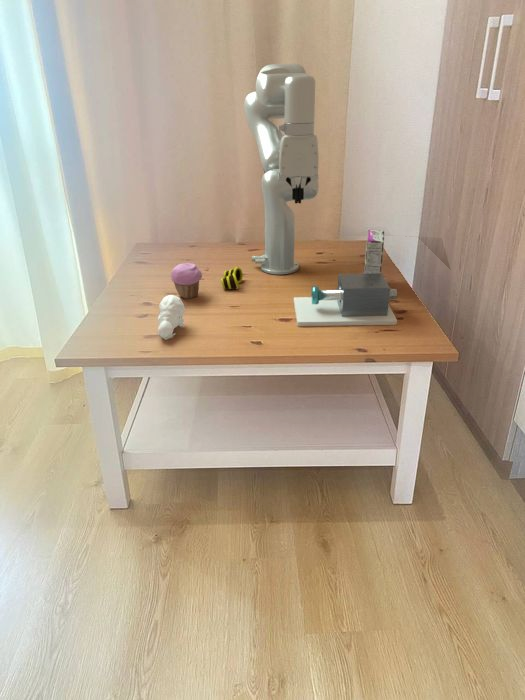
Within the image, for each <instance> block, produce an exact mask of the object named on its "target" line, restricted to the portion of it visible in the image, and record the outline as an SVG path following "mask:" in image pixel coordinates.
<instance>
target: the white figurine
mask: <svg viewBox="0 0 525 700" xmlns="http://www.w3.org/2000/svg"><path fill="white" fill-rule="evenodd" d="M158 307H159V310H160V312H159V315H158V317H157V324H158V328H157V334H158V335H159V337H161V338H162V339H164V340H165V341H167V340H169V339H170V338H171V339H172V338H174V337H175V335H176V333H173V332H174V329H175V328H177V327H178V326H179V327H180V328H184V327H185V324H184V318H183V316H184V313H185V304H184V303H183V301H182V299H181V298H180V297H179V296H177V295H174V294H169V295H166V296H164V297H163V298H162V300H161V301H160V303H159V305H158Z"/></svg>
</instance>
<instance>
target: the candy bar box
mask: <svg viewBox="0 0 525 700" xmlns="http://www.w3.org/2000/svg"><path fill="white" fill-rule="evenodd" d="M366 237H367V238H366V245H365V257H364V271H363V274H375V273H382V268H383V257H384V246H385V244H384V243H385V229H384V230H383V229H367V236H366Z"/></svg>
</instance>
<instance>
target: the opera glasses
mask: <svg viewBox="0 0 525 700" xmlns="http://www.w3.org/2000/svg"><path fill="white" fill-rule="evenodd" d="M243 276H244V275H243V271H242V269H241V268H240V267H239V266H237V267H234V268H231V269H228V270H225V271H224V272H223V277H222V278H221V279H220V280H221V286H222V288H223V290H228V289H229V290H232V289H236V290H239V284H241V282H242V280H243Z"/></svg>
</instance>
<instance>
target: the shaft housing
mask: <svg viewBox="0 0 525 700" xmlns="http://www.w3.org/2000/svg"><path fill="white" fill-rule="evenodd" d="M337 275H338V276H337V290H341V291H342V294H341V300H337V303H338V306H339V309H340V312H341V315H342V317H356V316H387V313H388V304H389V305H390V303H389V302H390V299H389V295H390V289H391V287H390V285H389V284H388V282H387V280H386V278H385V275H384V274H383V273H382V272H381V273H375V274H364V273H338V274H337Z"/></svg>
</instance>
